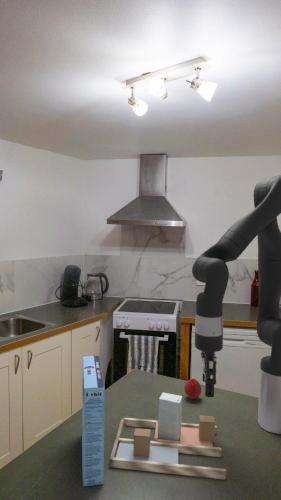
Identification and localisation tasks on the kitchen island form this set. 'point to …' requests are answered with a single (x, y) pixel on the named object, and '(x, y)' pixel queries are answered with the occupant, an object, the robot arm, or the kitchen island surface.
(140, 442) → the strip empty
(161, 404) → the skincare box
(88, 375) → the light blue flat box
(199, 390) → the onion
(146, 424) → the lane rails
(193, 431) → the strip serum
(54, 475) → the kitchen island surface
